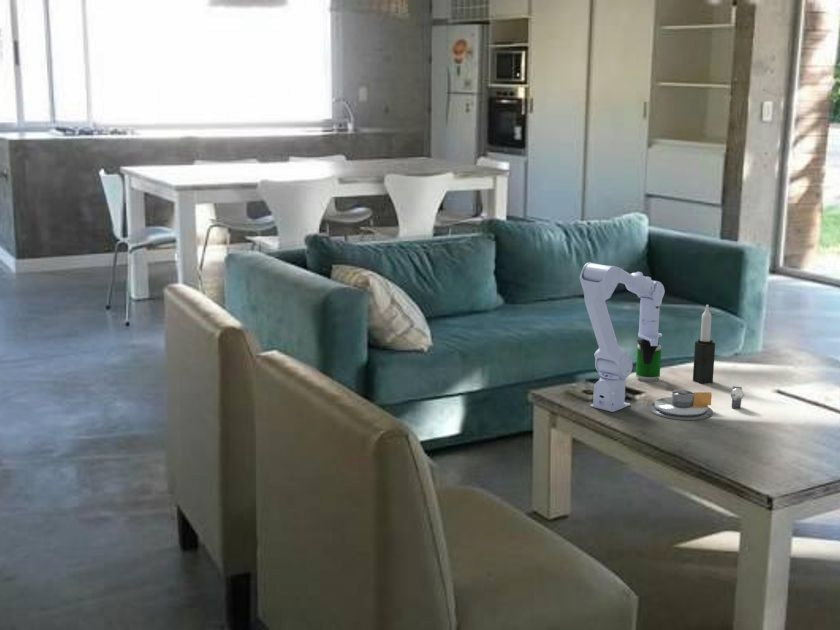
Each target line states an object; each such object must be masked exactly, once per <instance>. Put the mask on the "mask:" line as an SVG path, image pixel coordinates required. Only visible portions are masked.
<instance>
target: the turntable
mask: <svg viewBox="0 0 840 630" xmlns="http://www.w3.org/2000/svg"><path fill="white" fill-rule="evenodd" d="M692 393H694V399H693V407H690V408H679V407H675V406H673V405H672V396H669V397H663V398H662V397H661V398H659V399H656V400H655V401H654V403H655V409H656V410H657V411H659V412H661V413H664V414H668V415H673V416H683V417H692V416H700V415H703V414H706V413H707V412H708V407H709V406H712V398H713V397H712V395H713V393H712V391H711V392H709V391H708V392H707V391H706V392H705V391H704V392H702V391H700V392H695V391H694V392H692Z"/></svg>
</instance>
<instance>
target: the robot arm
mask: <svg viewBox="0 0 840 630" xmlns="http://www.w3.org/2000/svg"><path fill="white" fill-rule="evenodd" d="M579 281H580V284H581V287H582V288H581V289H582V290H583V297H584V298H583V300H584V303H585V308H586V310H587V311H586V312H587V314H588V317H589V321H590V323H591V327H592V330H593V332H594V337H595V339H596V343H597V346H598V349H596V351H595V352H594V354H593V356H594V365H595V366H594V367H595V369H596V371H597V372H598V376H600V377H599V380H598V381H596V382H595V383H594V386H593V393H592V394H593V397H592V404H591V403H590V407H592V408H596V409H600V410H603V411H607V412H616V411H619V410H621V409H624V408H627V407H629V406H631V403H630V402H626V400H625V399H626V382H627V381H626V379H627V378H628V377H629V376H630V375H631V374H632V370H633V366H634V365H633V360H632V358H631V357H629V355H628V352H627V351H626V350H625V349H624V348H623V347H621V346H620V345H619V343H618V339H617V336H616V334H615V330H614V325H613V323H612V320H611V316H610V313H609V311H608V306H607V303H606V301H607V300H609V299H611V297H612V295H613V293H614V291H615V289H616V288H617V286H618V284H623V285H625V288H626V290H628V291H629V292H631V293H633V294H636V296H637V297H638V298H639V299H640V301H639V302H640V304H639V321H638V322H639V323H638V324H639V325H638V333H637V335H638V336H637V337H638V338H640V339H637V343H638V344H639V346H640V349H641V354H642V360H643V363H644V364H651V362H652V359H653V355H654V352H655V350H656V348H657V347H658V345H660V343H659V338H661V337H663V334H662V333H660V332H659V325H660V309H661V306H662V303H663V302H662V301H663V298H664V295H665V292H666V291H665V287H664V285H663V283H662V282H661V281H658V280H653V279H652V277H650V276H645V275H644V274H643V272H641V271H636V272H632V273H629V272H627V271H626V270H625V269H622V268H621V267H618V266H616V265H606V264H605V265H604V264H600V263H594V262H586V263H585V264H584V265H583V267H582V270H581V271H580V275H579Z"/></svg>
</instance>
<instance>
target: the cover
mask: <svg viewBox="0 0 840 630" xmlns="http://www.w3.org/2000/svg"><path fill="white" fill-rule="evenodd" d="M671 395H672V396H671V397H672V405H673V406H675V407H679V408H690V407H693V399H694V393H693V392H692V391H689V390H685V389H684V390H682V389H681V390H679V389H678V390H674V391H672V393H671Z"/></svg>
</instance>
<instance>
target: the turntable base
mask: <svg viewBox="0 0 840 630" xmlns="http://www.w3.org/2000/svg"><path fill="white" fill-rule="evenodd" d="M648 410H649V412H651V413H652V414H654V415H656V416H659V417H661V418H666V419H668V420H669V419H670V420H676V421H677V420H678V421H701V420H704V419H705V420H706V419H708V418H710V417H712V416H713V414H714V411H713V409H712V408H710V407H709V406H708V412H707V413H706V414H703V415H700V416H692V417H683V416H673V415H668V414H664V413H661V412H659V411H657V410H656V409H655V402H653V403H651V404H650V405H649V408H648Z"/></svg>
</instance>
